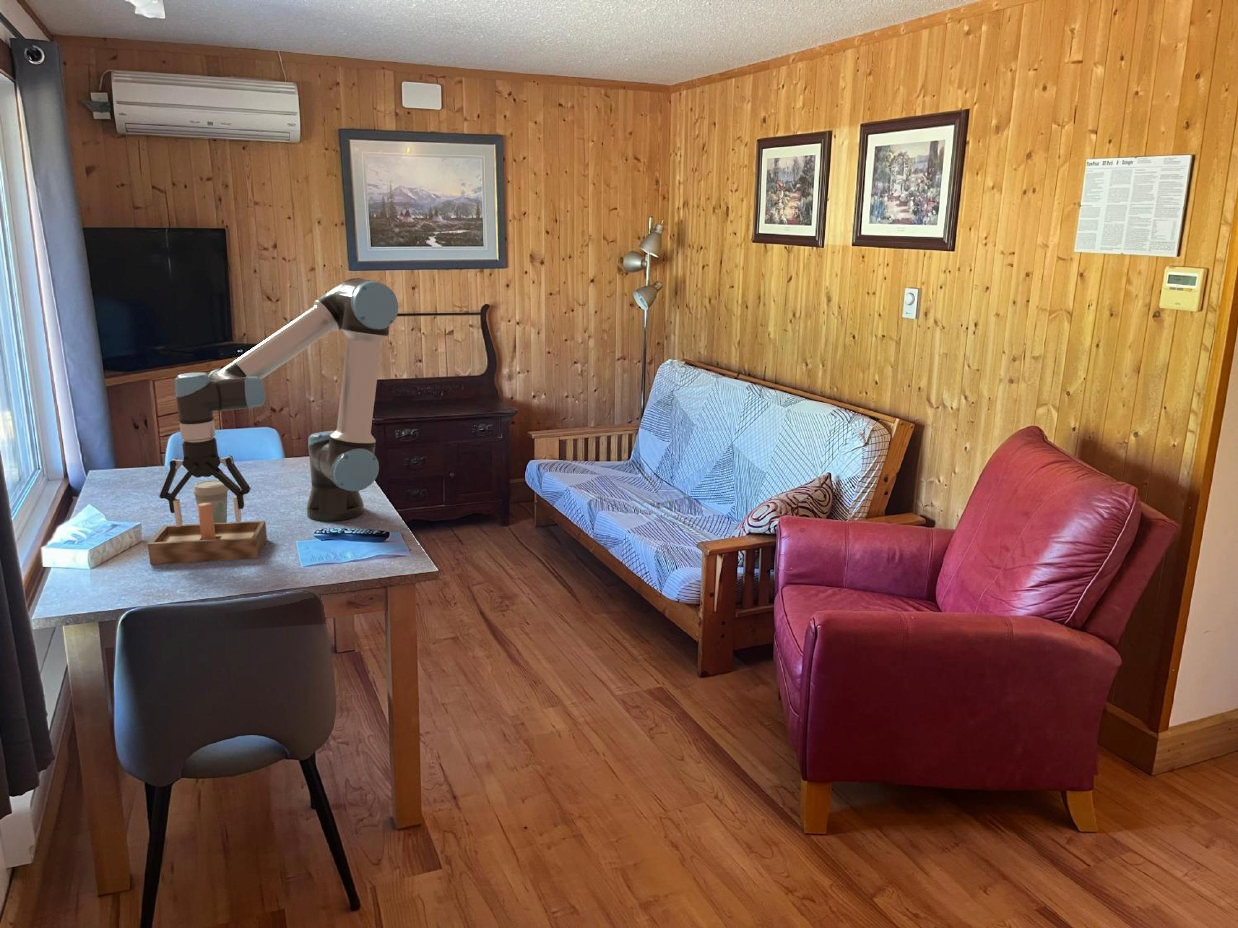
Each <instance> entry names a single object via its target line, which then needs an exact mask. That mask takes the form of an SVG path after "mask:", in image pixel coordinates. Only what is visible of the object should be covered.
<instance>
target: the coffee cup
mask: <svg viewBox="0 0 1238 928" xmlns="http://www.w3.org/2000/svg"><path fill="white" fill-rule="evenodd" d="M193 488H194V489H193V492H192V494H193V495H194V498H195V501H196V506H197V508H198V504H201V503H212V509H213V518H214V523H227V522H228V491H230V490H229V489H228V488H227V487H226V486H225V485H224V484H223V483H222V482H221V481H219V480H218V479H214V480H213V479H211V480H205V481H200V482H198V483H196V484H194V487H193Z"/></svg>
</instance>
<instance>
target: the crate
mask: <svg viewBox="0 0 1238 928" xmlns="http://www.w3.org/2000/svg"><path fill="white" fill-rule="evenodd" d="M214 527H215V537H216V539H211V540H201V531H200V523H189V524H187V523H186V524H182V525H181V526H180V527H177V526H176V524H169V525H168V524H167V525H163V526H162V527H161V528H160V529H159V530H158V532H157V533H156V534H155V535H154V536H153V537H152V538H151V540H150V541H149V542H148V543H147V550H148V557H149V564H150V565H157V564H158V565H159V564H173V563H174V564H175V563H193V562H212V561H213V562H214V561H228V560H229V561H230V560H231V561H232V560H247V559H248V560H251V559H252V560H253V559H258V557H259V556H260V554H261V553H262V550H263V548H264V546H265V544H266V542H267V540H268V537H267V534H268V533H267V525H266V520H252V521H251V520H249V521H240V523H236V521H230V522H229V521H227V523H214Z"/></svg>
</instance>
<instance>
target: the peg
mask: <svg viewBox="0 0 1238 928" xmlns="http://www.w3.org/2000/svg"><path fill="white" fill-rule="evenodd" d="M197 513H198V520H199V521H198V522H199V524H200V531H201V540H211V539H216V537H215V527H214V518H213V509H212V503H201V504H198V507H197Z"/></svg>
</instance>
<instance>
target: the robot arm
mask: <svg viewBox="0 0 1238 928" xmlns="http://www.w3.org/2000/svg"><path fill="white" fill-rule="evenodd" d="M398 313H399V301H398V298H397V295H396V294H395V293H394V291H393V290H392V289H391V288H390V287H389V286H388V285H387V284H384V283H382V282H380V281H378V280H374V279H363V278H358V277H357V278H356V277H353V278H348V279H345V280H344V281H342V282H340V283H338V284H337V285H336V286H334V287H332V288H331V289H330V290H328V291H327V292H326V293H324V294H322V296H319V297H318V298H317V299H316V300H314V302H313V307H311V308H309V309H308V310H306V311H305V312H304V313H303V314H300V315H299V316H298V317H296V318H294V320H291V321H290V322H289V323H288V324H285V326H283V327H282V328H281V329H279V330H277V331H276V332H274V333H273V334H271V335H270V336H268V337H267V338H266V339H264V340H263V341H261V342H260V343H258V344H257V345H255V346H254V347H252V348H251V349H250V350H248V351H246V352H245V353H244V354H242V355H241V356H239V357H238V358H237V359H235V360H233V361H232V362H230V363H229V364H227V365H225V366H224V367H223V368H217V369H213V370H212V371H210V372H209V374H207V373H206V372H186V373H181V374H179V375H176V377H175V378H174V387H175V388H174V390H175V394H174V395H175V400H176V406H177V413H178V421H179V430H180V431H179V432H180V438H181V439H182V441H181V446H182V455H183V459H178V458H175V457H174V458H172V460H170V462H169V470H168V473H167V476H166V479H165V480H164V483H163V486H162V489H161V491H160V494H159V496H158V497H159V498H160V499H164V500H167V502H168V504H169V511H170V513H171V514H174V517H175V525H176V526H177V527H180V526H181V525H184V524H183V523H184V522H183V515H182V507H181V501H180V497H177V496H178V494H179V493H180V491H181V490H182V489H183V488H184V486H185V485H187V483H188V481H189V480H190V479H191V477H192V476H193V478H194V477H195V478H201V477H203V478H209V477H211V476H213V477H214V478H215V479H216V480H219V481H221V482H222V483H223V484H224V485H225V486H226V487H227V488H228V489H229V490H228V491H230V492H231V493H233V494H234V496H233V498H232V499H233V506H234V515H235V522H236V523H240V522H242V513H241V510H243V509H244V507H245V500H244V496H245V495H248V494H249V493H250V492H251V490H252V489H251V487H250V485H249V484H248V482H247V480H246V479H245V478H244V477H243V475H242V473H241V472H240V471H239V468H238V467H237V466H236V465H235V462H234V461H235V460H234V458H233V456H232V455H228V456H225V457H220V456H219V451H218V443H217V439H216V437H215V436H216V427H215V419H214V418H215V417H214V413H216V412H217V413H219V412H225V411H234V410H244V409H249V410H250V409H252V408H257V407H261V406H263V405H264V404H265V400H266V391H265V387H264V383H263V381H262V380H263V379H264V378H265V377H267V376H269V375H270V374H271V373H273V372H274V371H276V370H277V369H278V368H280V367H281V366H283V365H285V363H287V362H289V361H290V360H292V359H293V358H294V357H296V356H297V355H299V354H300V353H301V352H303V351H304V350H306V349H308V348H309V347H310V346H311V345H313V344H315V343H317V341H319V340H321V338H323V337H325V336H326V335H328V334H329V333H331V332H339V331H340V330H341V331H342V332H343V333H344V335H345V336H346V346H345V352H344V353H345V354H344V361H343V362H344V363H343V372H342V380H341V391H340V397H339V406H338V407H339V408H338V413H337V415H338V416H337V424H336V429H335V430H327V431H326V430H325V431H321V432H314V433H312V434H310V435H309V436H308V438H307V439H308V445H307V447H308V455H309V467H310V481H311V490H310V494H309V496H308V497H309V498H308V500H307V505H306V515H307V517H308V518H309V519H312V520H315V521H326V522H332V521H334V522H335V521H336V522H337V521H344V520H350V519H353V518H357V517H359V516H361V515H362V514H363V513H364V512H365V504H364V501H363V498H362V496H361V494H360V491H362V490H366V489H367V488H369V486H371V485H372V484H373V483H374V481H376V479H377V477H378V475H379V471H380V466H379V464H380V463H379V460H378V459H377V456H376V455H375V451H376V441H377V440H376V439H375V437H374V435H372V425H373V424H372V423H373V418H374V417H373V415H374V408H375V407H374V406H375V401H376V393H377V392H376V390H377V383H378V377H379V376H378V375H379V367H380V360H381V359H380V357H381V349H382V348H381V347H382V344H383V342H384V341H385V340H386V339H387V338H389V334H390V328H391V325H392V324H393V323H394V322H395V321H396V319H397V317H398ZM221 464H222V465H223V467H227V470H228V472H229V473H230V474H231V476H232V477H233V479H234V480H235V482H236V483H237V484H236V483H235V482H234V480H232V479H231V478H229V476H227V474H225V473H224V472H223V469H221V468H219V466H220V465H221ZM181 466H183V468H185V469H186V470H187V472H186V473H185V474H184V476H183V477H182V478H181V480H180V481H179V482H178V484H177V485H176V486H175V488H174V489H173V491H172V492H171V493H170V492H169V491H170V489H171V486H172V484H173V481H174V479H175V477H176V474H177V472H178V470H179V469H180V468H181Z"/></svg>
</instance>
